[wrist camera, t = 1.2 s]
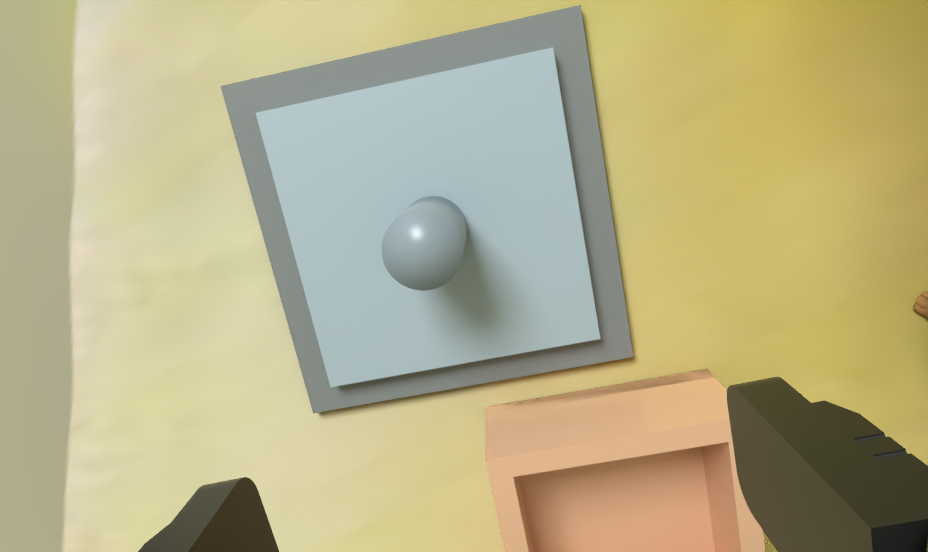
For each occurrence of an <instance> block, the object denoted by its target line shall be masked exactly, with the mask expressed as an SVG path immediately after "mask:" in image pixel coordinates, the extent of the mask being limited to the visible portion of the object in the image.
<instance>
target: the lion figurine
mask: <svg viewBox="0 0 928 552" xmlns="http://www.w3.org/2000/svg"><path fill="white" fill-rule="evenodd" d="M913 308H914V310H915V311H917V312H918V313H920V314H922V315H924V316H926V317H928V292H923V293H922V294H921V295H920V296H919V297H918V298H917V300H916V303H915V305H914V307H913Z"/></svg>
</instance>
